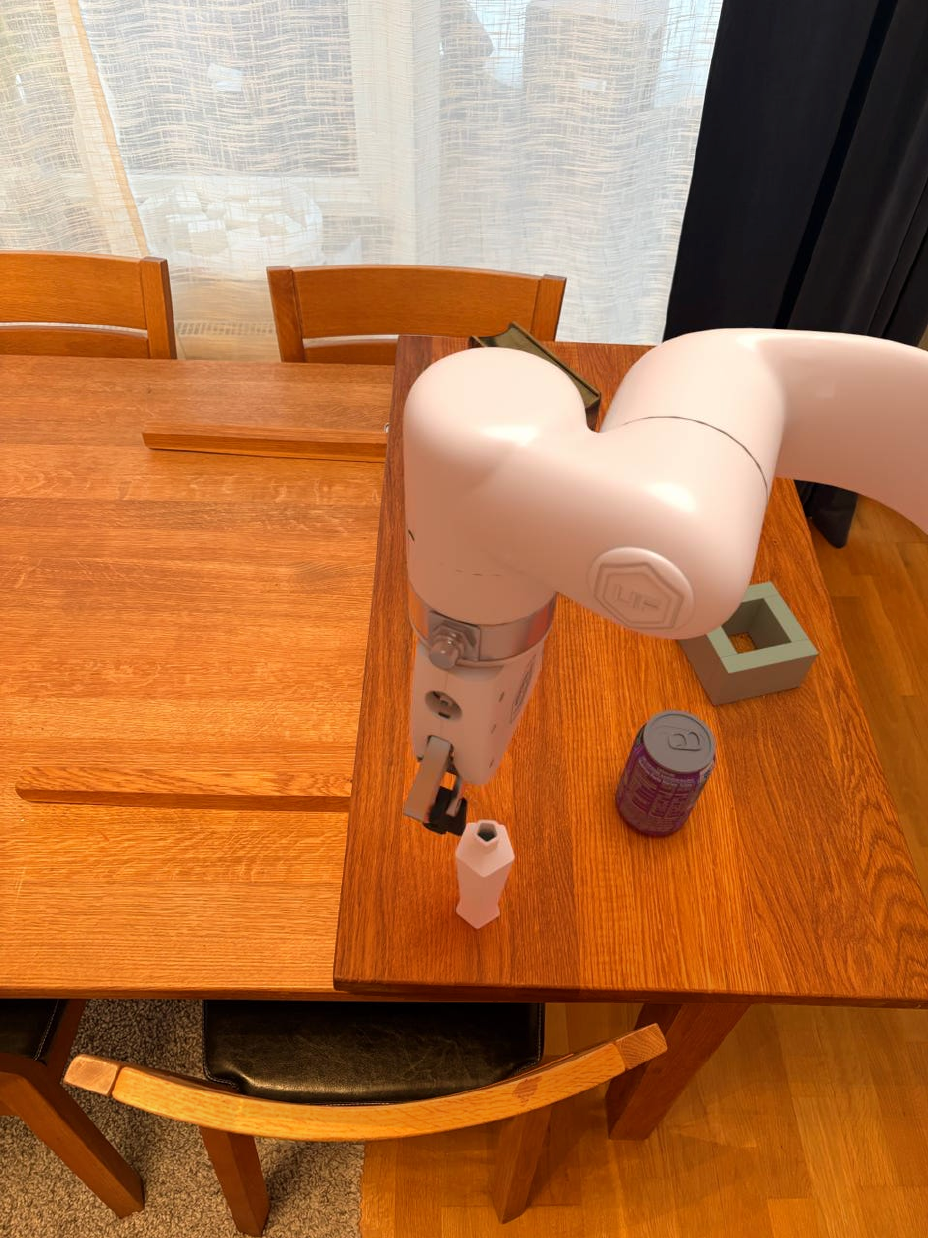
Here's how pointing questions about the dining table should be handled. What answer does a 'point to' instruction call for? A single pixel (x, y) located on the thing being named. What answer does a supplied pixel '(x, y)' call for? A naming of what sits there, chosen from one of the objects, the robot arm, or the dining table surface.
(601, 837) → the dining table surface
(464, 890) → the perfume bottle
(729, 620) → the holder
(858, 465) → the robot arm
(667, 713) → the beverage can
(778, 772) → the dining table surface
